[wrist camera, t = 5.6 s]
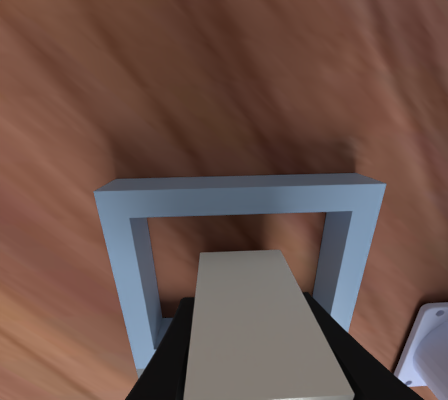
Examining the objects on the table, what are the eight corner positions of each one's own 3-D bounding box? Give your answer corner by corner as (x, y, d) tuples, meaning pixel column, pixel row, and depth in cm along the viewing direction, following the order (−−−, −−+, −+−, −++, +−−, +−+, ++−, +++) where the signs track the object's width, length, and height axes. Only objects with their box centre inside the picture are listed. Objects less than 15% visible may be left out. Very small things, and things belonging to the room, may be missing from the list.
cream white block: (280, 249, 11) (354, 394, 5) (274, 310, 12) (328, 477, 6) (200, 252, 10) (182, 404, 5) (204, 313, 12) (194, 487, 6)
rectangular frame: (356, 172, 11) (386, 183, 9) (305, 418, 18) (316, 452, 16) (115, 178, 10) (93, 191, 8) (164, 427, 18) (159, 463, 16)
